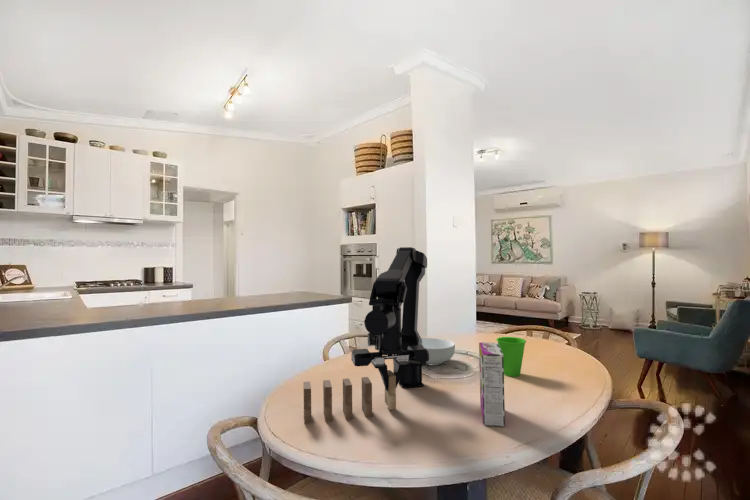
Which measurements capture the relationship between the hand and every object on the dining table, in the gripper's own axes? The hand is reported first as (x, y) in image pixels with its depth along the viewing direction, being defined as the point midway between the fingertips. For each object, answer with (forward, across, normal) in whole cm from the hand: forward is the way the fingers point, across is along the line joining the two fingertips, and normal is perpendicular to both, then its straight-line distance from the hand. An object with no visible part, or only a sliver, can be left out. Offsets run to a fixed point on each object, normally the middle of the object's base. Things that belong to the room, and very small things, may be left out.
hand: (390, 389), depth 95 cm
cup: (+5, -44, -18) cm, 48 cm away
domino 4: (+5, +6, 0) cm, 8 cm away
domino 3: (+5, +11, 0) cm, 12 cm away
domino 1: (+5, +20, 0) cm, 21 cm away
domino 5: (+4, 0, 0) cm, 4 cm away
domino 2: (+5, +16, 0) cm, 16 cm away
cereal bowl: (+6, -24, -37) cm, 45 cm away
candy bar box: (+5, -22, +9) cm, 25 cm away
